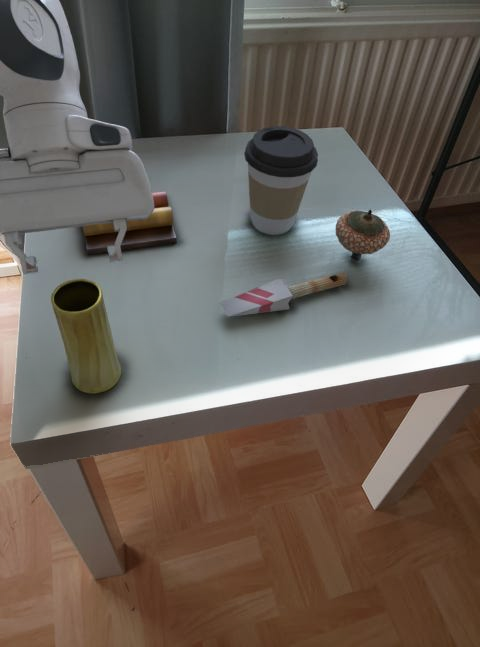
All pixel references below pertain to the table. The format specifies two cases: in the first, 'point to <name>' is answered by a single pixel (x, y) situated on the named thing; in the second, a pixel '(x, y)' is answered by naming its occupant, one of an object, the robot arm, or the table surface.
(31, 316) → the table surface
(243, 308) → the sheathed knife
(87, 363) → the vase
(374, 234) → the acorn
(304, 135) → the coffee cup
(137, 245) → the rod rack
